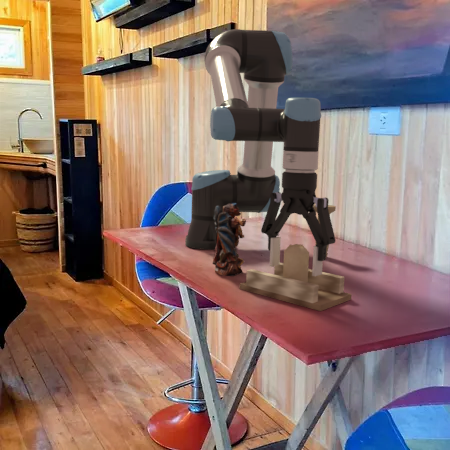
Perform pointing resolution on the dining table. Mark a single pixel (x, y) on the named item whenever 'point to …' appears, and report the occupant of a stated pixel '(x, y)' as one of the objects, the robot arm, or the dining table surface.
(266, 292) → the rack
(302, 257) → the candle
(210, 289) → the dining table surface
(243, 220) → the figurine
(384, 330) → the dining table surface
